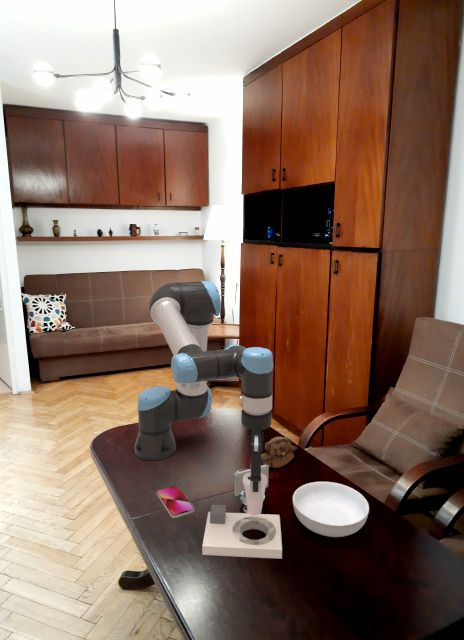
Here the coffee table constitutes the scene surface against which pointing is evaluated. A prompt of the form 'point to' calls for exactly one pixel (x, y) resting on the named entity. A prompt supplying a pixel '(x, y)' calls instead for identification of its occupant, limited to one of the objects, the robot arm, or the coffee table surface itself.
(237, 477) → the cassette
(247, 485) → the smoothie
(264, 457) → the wooden carving
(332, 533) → the serving bowl
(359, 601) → the coffee table surface
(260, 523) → the dock plate
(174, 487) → the smartphone
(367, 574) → the coffee table surface
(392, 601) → the coffee table surface
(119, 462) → the coffee table surface
